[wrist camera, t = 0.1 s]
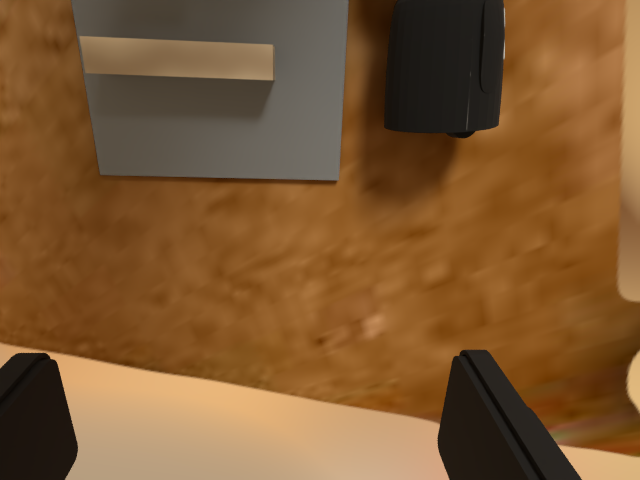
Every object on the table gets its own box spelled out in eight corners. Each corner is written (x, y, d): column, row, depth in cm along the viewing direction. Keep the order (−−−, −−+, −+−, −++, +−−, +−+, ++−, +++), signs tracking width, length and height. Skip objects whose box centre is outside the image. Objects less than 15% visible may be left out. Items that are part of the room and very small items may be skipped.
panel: (65, -59, 32) (61, -61, 31) (350, -42, 33) (351, -44, 32) (102, 173, 38) (100, 175, 38) (338, 178, 40) (338, 180, 39)
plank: (102, 40, 34) (79, 35, 30) (275, 47, 35) (272, 44, 31) (107, 72, 35) (85, 73, 31) (275, 79, 36) (272, 80, 32)
